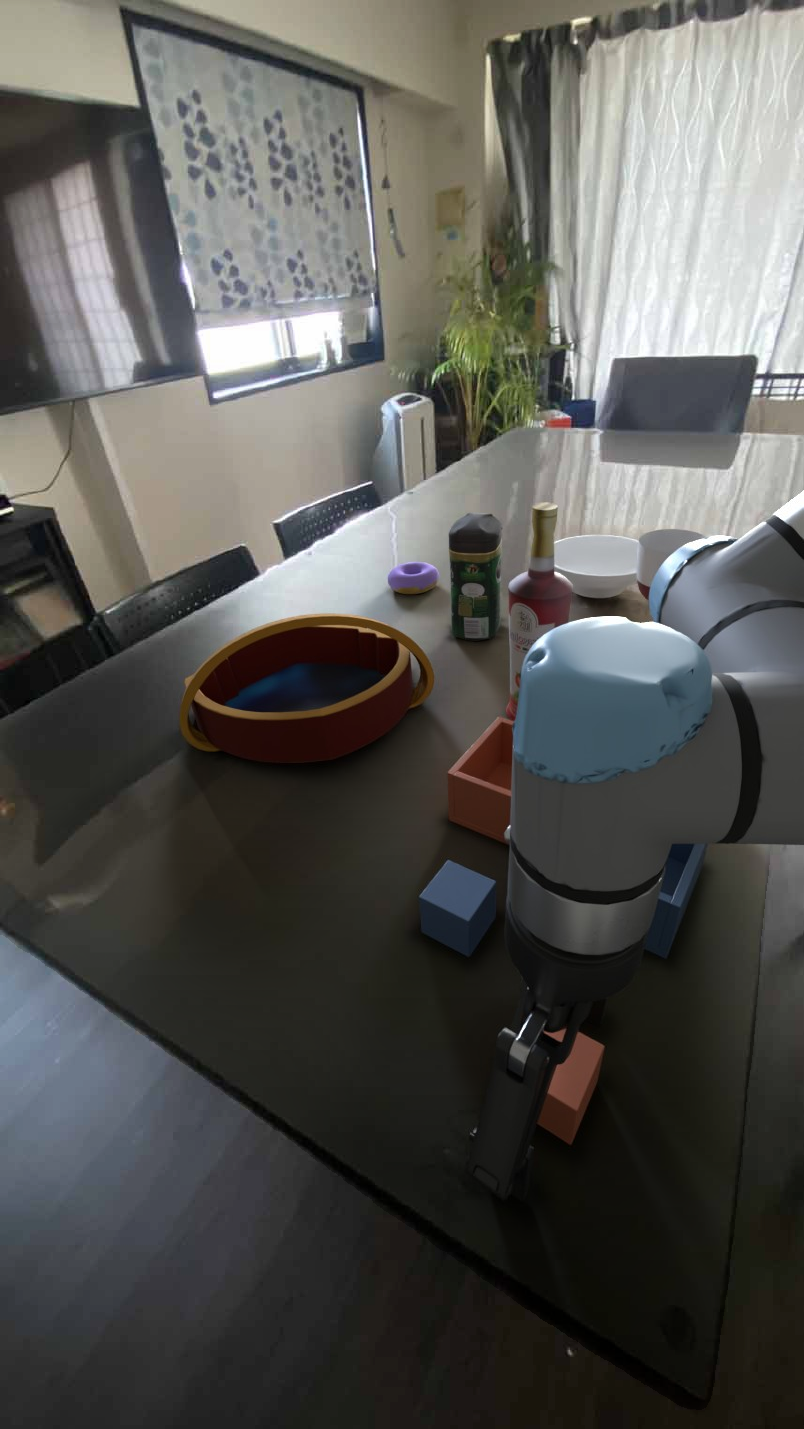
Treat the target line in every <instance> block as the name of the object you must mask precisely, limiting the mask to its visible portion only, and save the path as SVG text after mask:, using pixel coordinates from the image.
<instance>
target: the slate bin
mask: <svg viewBox="0 0 804 1429" xmlns="http://www.w3.org/2000/svg"><path fill="white" fill-rule="evenodd" d="M708 846H709V844H672V846H671V849H670V852H669V854H668V859H667V863H666V867H665V874H664V878H663V882H662V886H661V890H660V894H659V898H658V902H657V906H656V909H655V913H654V917H653V920H652V923H651V925H650V928H649V932H648V936H647V940H646V944H645V948H644V950H646V951H648V952H650V953H652V954H654V955H657V956H659V957H661V958H663V959H668V955H669V952H670V950H671V948H672V945H673V942H674V940H675V937H676V935H677V932H678V929H679V927H680V925H681V922H682V919H683V917H684V914H685V911H686V909H687V906H688V904H689V901H690V899H691V897H692V893H693V891H694V888H695V885H696V883H697V880H698V878H699V875H700V873H701V870H702V868H703V863H704V860H705V857H706V853H707V849H708Z"/></svg>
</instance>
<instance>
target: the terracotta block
mask: <svg viewBox="0 0 804 1429" xmlns="http://www.w3.org/2000/svg"><path fill="white" fill-rule="evenodd" d="M565 1031H566V1029H564V1030H561V1031H558V1032H555V1033H548V1032H546V1031H545V1032H544V1033H545V1034H547V1035H549V1036H551V1037H552V1038H554V1039H556V1040H558V1041H560V1042H562V1040H563V1037H564V1034H565ZM604 1053H605V1045H603V1044H602V1043H600V1042H598V1041H597V1040H595V1039H592V1038H591V1037H589V1036H587V1035H586V1034H584V1033H582V1032H580V1031H578V1033H577V1036H576V1039H575V1042H574V1045H573V1048H572V1051H571V1054H570V1055H569V1057H568V1058H567V1059H566V1061H565V1062H564V1063H563V1064H559V1065H557V1066H556V1069H555V1072H554V1075H553V1078H552V1081H551V1084H550V1087H549V1090H548V1093H547V1096H546V1099H545V1102H544V1105H543V1108H542V1111H541V1114H540V1117H539V1119H538V1122H537V1125H539V1126H540V1127H542V1128H543V1129H544V1130H546V1131H547V1132H550V1133H551V1134H553V1135H554V1136H555V1137H557V1138H559V1139H560V1140H562V1141H563V1142H564V1143H566V1144H568V1145H570V1146H572V1144H573V1141H574V1139H575V1137H576V1135H577V1132H578V1130H579V1127H580V1125H581V1122H582V1121H583V1117H584V1115H585V1113H586V1111H587V1107H588V1105H589V1103H590V1101H591V1098H592V1096H593V1093H594V1091H595V1089H596V1086H597V1084H598V1080H599V1075H600V1072H601V1066H602V1061H603V1056H604Z"/></svg>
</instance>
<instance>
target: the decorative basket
mask: <svg viewBox="0 0 804 1429" xmlns="http://www.w3.org/2000/svg"><path fill="white" fill-rule="evenodd" d="M411 654H412V655H413V656H414V658H415V660H416V661H417V663H418V666H419V679H418V682H417V684H416V686H415V687H414V684H413V683H414V681H413V670H412V659H411ZM183 681H184V685H185V690H184V693H183V696H182V698H181V703H180V707H179V716H178V717H179V718H178V722H179V729H180V732H181V734H182V736H183V738H184V739H185V741H186V742H187V743H188V744H189V745H191V746H192V747H193V748H196V749H198V750H200V751H204V752H221V751H222V752H224V753H228V754H230V755H233V756H236V757H239V758H242V759H246V760H249V761H250V760H251V761H255V762H263V763H277V764H278V763H280V764H296V763H297V764H298V763H300V764H301V763H313V762H321V761H331V760H335V759H337V758H340V757H343V756H345V755H348V754H351V753H353V752H355V751H357V750H359V749H361V748H363V747H366V746H367V745H369V744H371V743H372V742H374V741H376V740H377V739H379V738H381V737H382V736H384V735H385V734H386V733H388V732H389V731H391V729H393V728H394V727H395V726H396V725H397V724H398V723H399V722H400V721H401V720H402V719H403V717H404V716H405V714H406V713H407V711H408V710H409V709H412V708H415V707H418V706H419V705H421V704H423V703H424V702H425V701H426V700H427V699H428V698H429V696H430V695H431V693H432V691H433V689H434V684H435V672H434V669H433V666H432V664H431V661H430V659H429V658H428V656H427V655H426V653H425V651H424V650H423V649H422V648H421V647H420V646H419V645H418V644H417V643H416V642H415V641H414V640H413V639H412V638H411V637H409V636H408V635H406V634H405V633H404V632H402V631H400V630H399V629H397V628H395V627H393V626H391V625H389V624H387V623H385V622H382V621H381V620H380V621H379V620H377V619H373V618H370V617H365V616H361V615H355V614H348V613H334V612H333V613H330V612H329V613H311V614H309V613H308V614H302V615H295V616H290V617H285V618H281V619H278V620H273V621H271V622H268V623H267V622H266V623H265V624H262V625H259V626H257V627H255V628H252V629H250V630H248V631H246V632H244V633H242V634H240V635H238V636H236V637H234V638H232V639H231V640H229V641H228V642H227V643H225V644H223V645H222V646H220V647H219V648H218V649H217V650H215V651H214V652H213V653H212V654H210V656H208V657H207V658H206V659H205V660H204V661H203V662H202V663H201V664H200V666H199V667H198V668H197V670H196V671H195V672H194V674H191V675H189V676H188V677H185V678H184V679H183ZM191 708H192V713H193V715H194V720H195V722H196V726H197V728H198V729H196V728H195V726H194V725H193V724H192V721H191V719H190V715H189V714H190V710H191Z"/></svg>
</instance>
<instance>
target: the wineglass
mask: <svg viewBox="0 0 804 1429" xmlns="http://www.w3.org/2000/svg"><path fill="white" fill-rule="evenodd" d="M703 538H707V536H705V535H704V534H702V533H699V532H696V531H692V530H688V529H682V528H681V529H680V528H679V529H678V528H665V529H663V528H662V529H656V530H651V531H648V532H645V533H643V534H642V535H640V537H639V538H638V541H639V543H638V552H637V566H636V574H637V587H638V590H639V592H640V594H641V596H642V597H643V598H645V599H646V600H647V601H648V602H649V592H650V587H651V584H652V581H653V579H654V577H655V575H656V573H657V571H658V570H659V568H660V567H661V565H662V564H663V563H664V561H665V560H666V559H667V558H668V557H669V556H670V555H671V554H673V553H674V552H675V551H676V550H678V549H679V548H681V547H682V546H684V545H686V544H688V543H690V542H694V541H697V540H700V539H703Z"/></svg>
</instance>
